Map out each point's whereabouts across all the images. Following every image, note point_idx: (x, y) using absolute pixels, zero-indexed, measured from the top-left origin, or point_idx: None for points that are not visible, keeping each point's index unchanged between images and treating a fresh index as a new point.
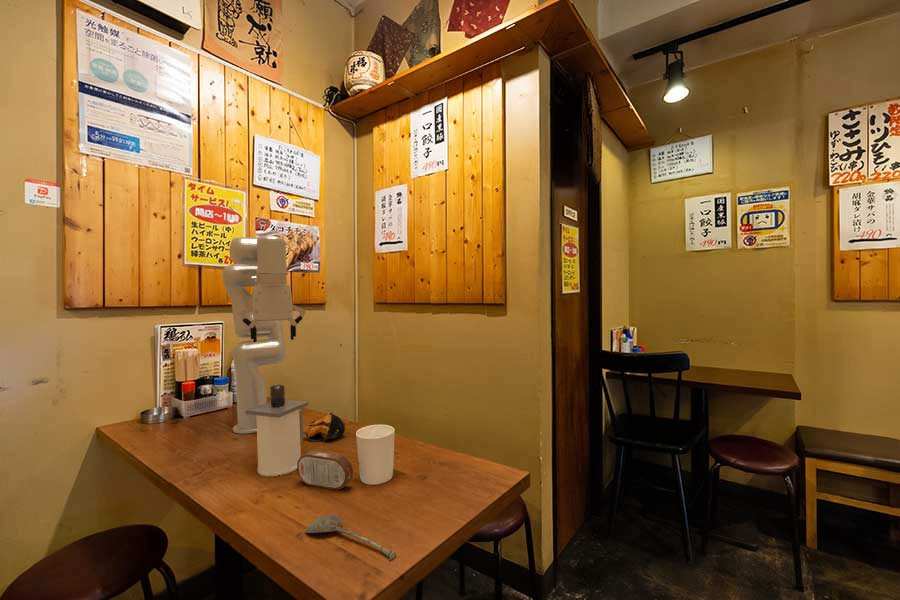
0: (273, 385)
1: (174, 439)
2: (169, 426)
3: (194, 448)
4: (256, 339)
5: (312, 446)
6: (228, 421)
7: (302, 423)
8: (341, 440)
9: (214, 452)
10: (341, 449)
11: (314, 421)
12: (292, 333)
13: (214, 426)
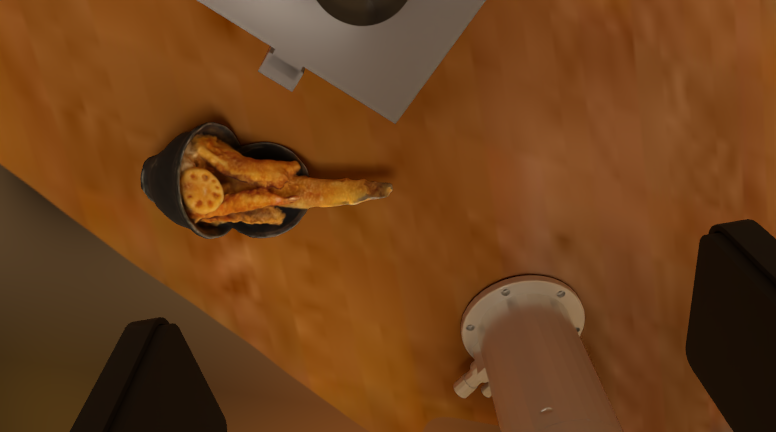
0: (398, 8)
1: None
2: None
3: (688, 194)
4: (710, 301)
5: (271, 96)
6: None
7: (269, 47)
8: (165, 126)
9: (622, 139)
10: (139, 29)
11: (279, 231)
12: (102, 395)
13: (642, 359)
